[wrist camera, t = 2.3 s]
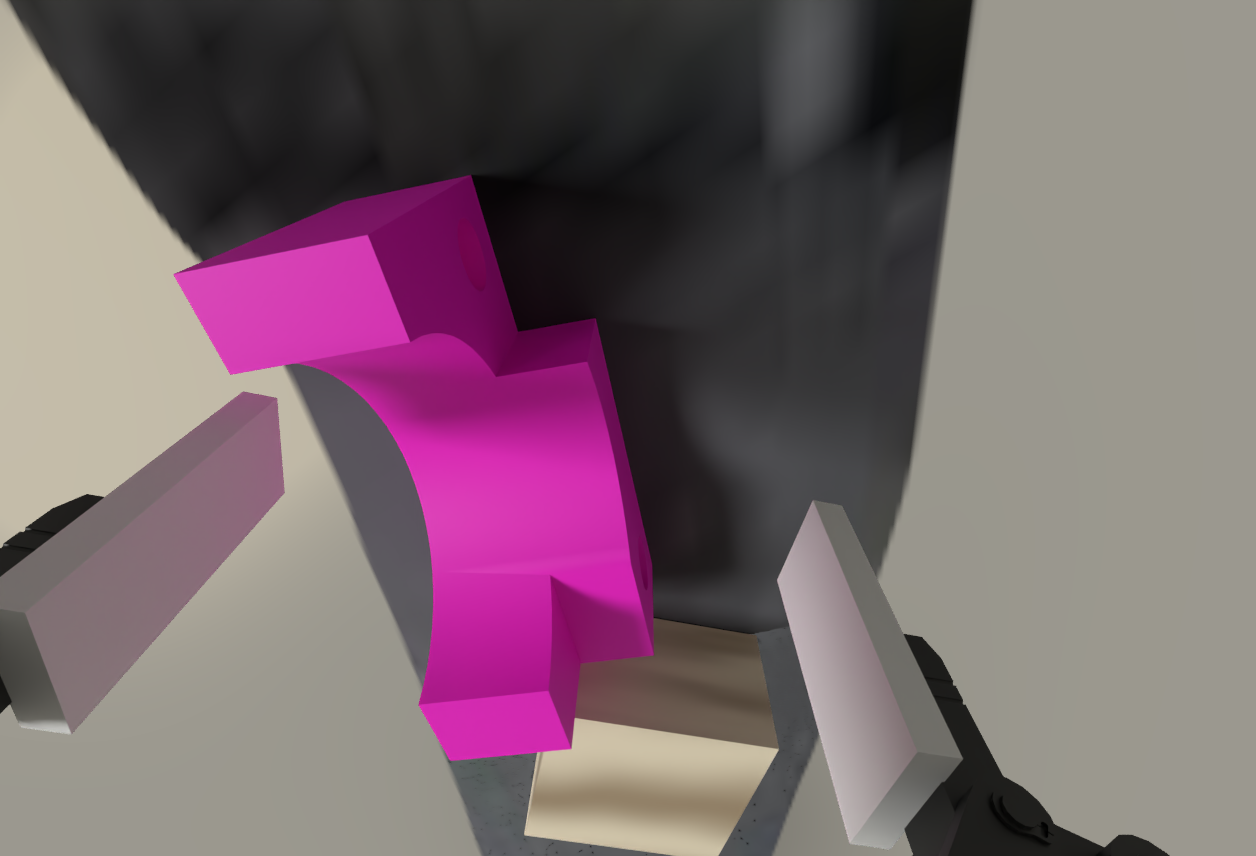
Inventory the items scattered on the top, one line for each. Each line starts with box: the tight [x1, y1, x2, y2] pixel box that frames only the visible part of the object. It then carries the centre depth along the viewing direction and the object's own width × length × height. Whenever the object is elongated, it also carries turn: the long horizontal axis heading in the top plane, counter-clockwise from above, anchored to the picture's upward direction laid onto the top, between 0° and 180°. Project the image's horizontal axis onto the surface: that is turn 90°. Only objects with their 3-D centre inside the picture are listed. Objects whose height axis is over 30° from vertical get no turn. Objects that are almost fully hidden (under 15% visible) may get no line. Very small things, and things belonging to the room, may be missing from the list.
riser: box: [524, 618, 779, 856], centre depth 25 cm, size 8×8×5 cm
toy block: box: [174, 175, 654, 761], centre depth 17 cm, size 15×6×8 cm, turn 11°
